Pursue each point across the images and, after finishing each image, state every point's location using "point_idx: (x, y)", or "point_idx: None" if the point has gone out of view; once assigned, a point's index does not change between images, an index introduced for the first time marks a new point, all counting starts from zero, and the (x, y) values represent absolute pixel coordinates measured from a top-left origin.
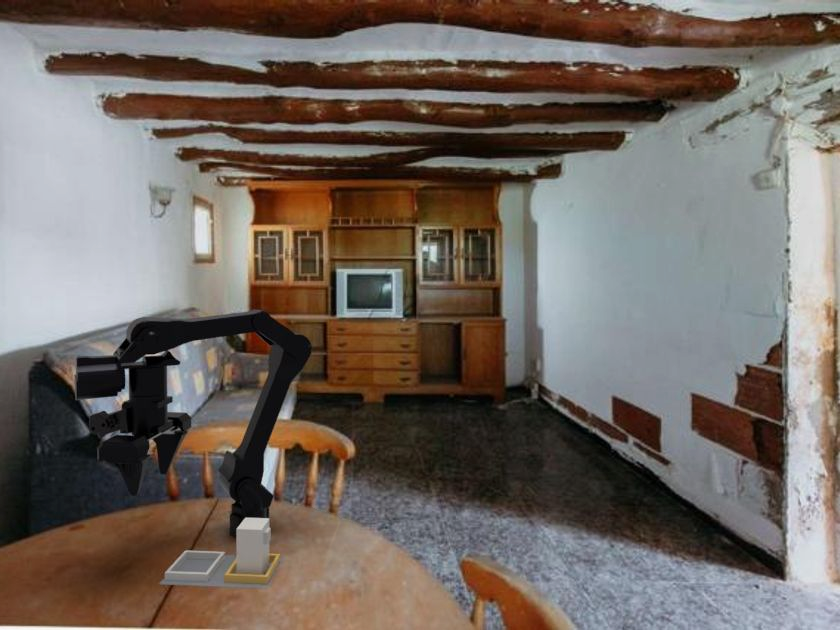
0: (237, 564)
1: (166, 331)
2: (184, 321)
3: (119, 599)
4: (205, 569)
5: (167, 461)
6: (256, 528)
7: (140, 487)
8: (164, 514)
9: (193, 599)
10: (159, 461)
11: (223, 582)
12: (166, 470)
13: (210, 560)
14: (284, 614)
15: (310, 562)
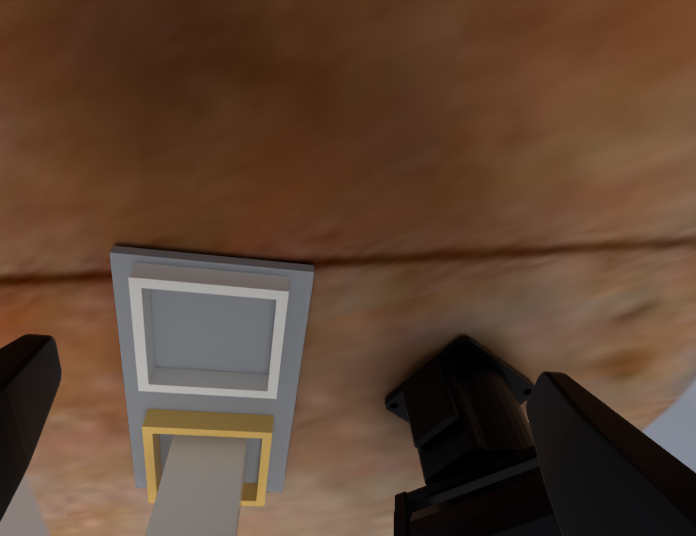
0: (167, 462)
1: None
2: None
3: (29, 138)
4: (212, 352)
5: (577, 522)
6: None
7: (29, 455)
8: None
9: (83, 347)
10: (611, 467)
11: (147, 407)
12: (536, 437)
13: (266, 350)
14: (68, 510)
15: (280, 519)
